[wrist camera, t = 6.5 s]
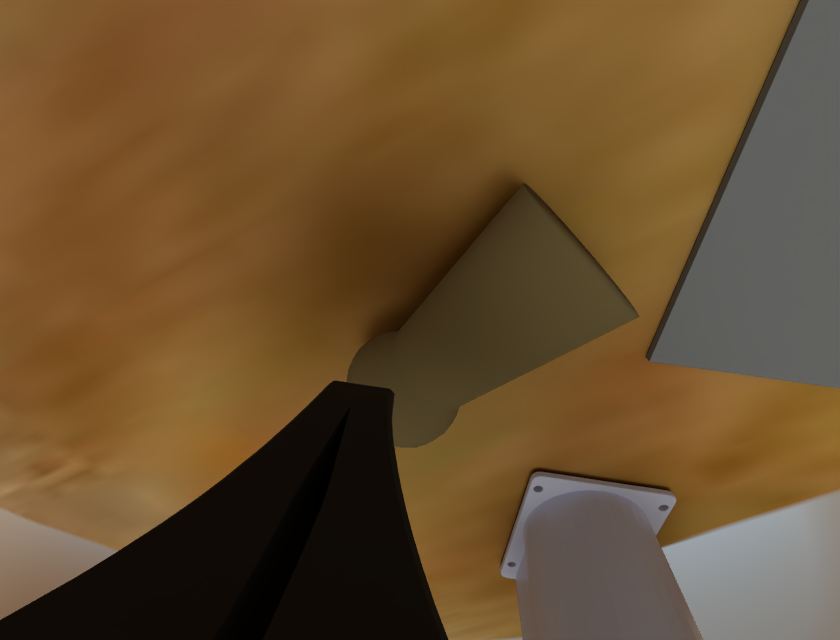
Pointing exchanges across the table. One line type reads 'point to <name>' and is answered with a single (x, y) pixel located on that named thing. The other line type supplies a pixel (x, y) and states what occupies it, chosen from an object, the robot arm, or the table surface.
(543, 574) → the robot arm
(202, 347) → the table surface
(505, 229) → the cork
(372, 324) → the table surface
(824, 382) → the topple mat
